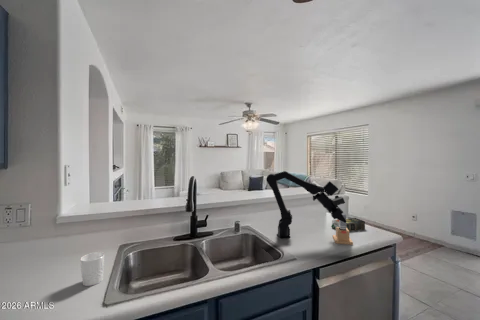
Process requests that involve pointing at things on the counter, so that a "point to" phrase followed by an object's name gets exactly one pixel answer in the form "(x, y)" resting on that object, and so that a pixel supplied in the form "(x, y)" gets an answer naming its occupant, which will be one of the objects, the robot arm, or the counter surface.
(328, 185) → the robot arm
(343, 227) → the jack stand column
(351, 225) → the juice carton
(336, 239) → the jack stand base
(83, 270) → the white cup
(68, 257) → the counter surface
